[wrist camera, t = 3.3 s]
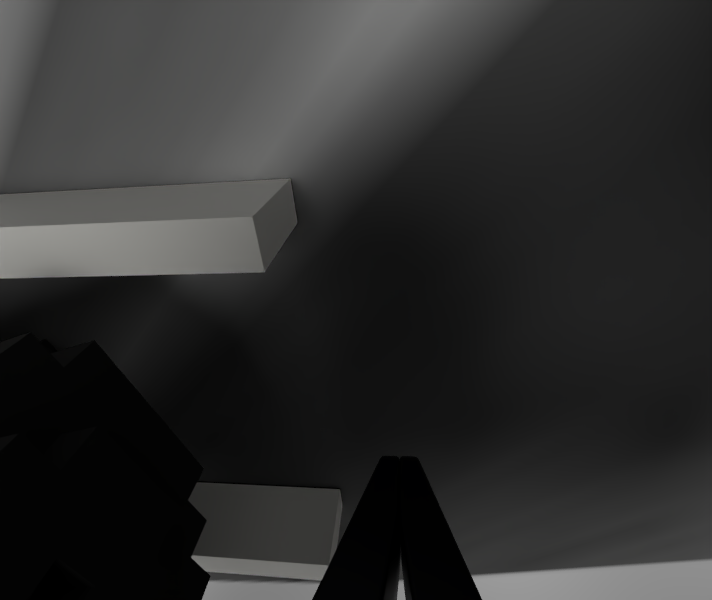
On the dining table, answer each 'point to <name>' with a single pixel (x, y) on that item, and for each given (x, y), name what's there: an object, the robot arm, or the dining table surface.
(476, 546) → the dining table surface
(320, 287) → the dining table surface
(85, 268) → the tester cradle
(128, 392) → the security camera
